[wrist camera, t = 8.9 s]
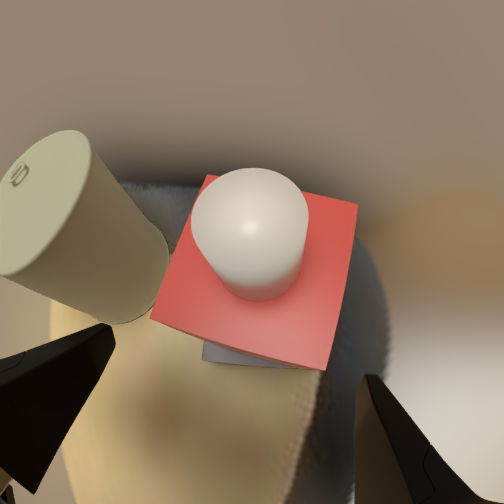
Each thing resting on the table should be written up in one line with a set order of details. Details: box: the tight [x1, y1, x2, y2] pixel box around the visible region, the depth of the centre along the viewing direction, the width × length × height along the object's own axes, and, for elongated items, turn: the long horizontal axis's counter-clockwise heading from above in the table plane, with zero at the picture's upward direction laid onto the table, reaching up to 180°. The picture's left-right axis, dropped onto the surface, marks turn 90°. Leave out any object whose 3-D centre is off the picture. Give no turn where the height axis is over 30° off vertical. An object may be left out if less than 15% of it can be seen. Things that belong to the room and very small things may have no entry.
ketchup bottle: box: [150, 168, 358, 371], centre depth 11 cm, size 5×5×12 cm
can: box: [0, 130, 170, 324], centre depth 17 cm, size 9×9×12 cm
